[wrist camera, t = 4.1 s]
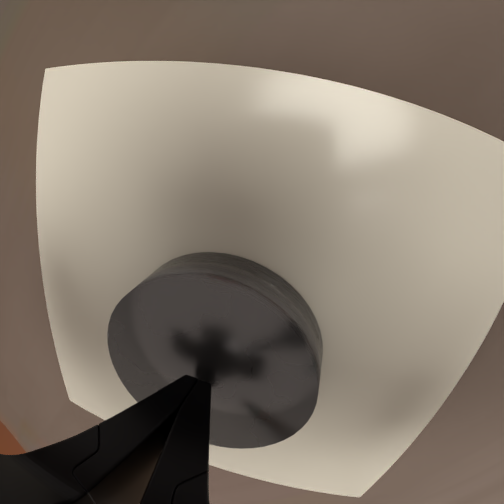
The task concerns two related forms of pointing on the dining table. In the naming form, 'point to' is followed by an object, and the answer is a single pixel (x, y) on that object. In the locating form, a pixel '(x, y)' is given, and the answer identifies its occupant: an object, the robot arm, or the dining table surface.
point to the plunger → (222, 344)
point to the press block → (276, 237)
